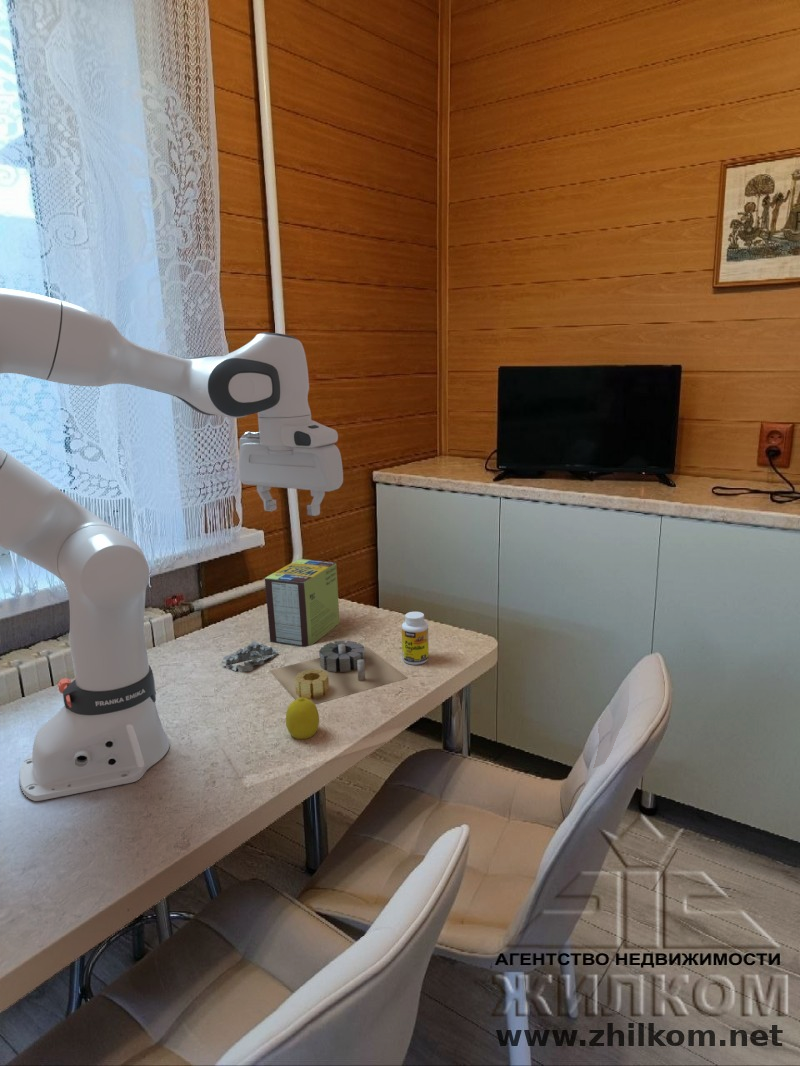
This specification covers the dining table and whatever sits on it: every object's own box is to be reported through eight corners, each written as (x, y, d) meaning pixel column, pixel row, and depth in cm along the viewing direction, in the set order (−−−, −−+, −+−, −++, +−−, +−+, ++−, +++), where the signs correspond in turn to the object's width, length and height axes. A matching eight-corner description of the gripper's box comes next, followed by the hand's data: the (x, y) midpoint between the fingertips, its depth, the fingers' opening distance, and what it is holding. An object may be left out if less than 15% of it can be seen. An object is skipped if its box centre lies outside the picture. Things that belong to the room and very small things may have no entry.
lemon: (314, 750, 116) (311, 707, 113) (282, 748, 117) (279, 704, 115) (324, 733, 121) (322, 691, 119) (294, 730, 122) (291, 688, 120)
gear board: (302, 715, 127) (301, 687, 125) (269, 677, 142) (267, 652, 141) (408, 684, 137) (407, 659, 136) (366, 652, 152) (365, 628, 151)
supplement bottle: (401, 665, 146) (400, 619, 143) (403, 654, 151) (402, 609, 148) (428, 666, 145) (427, 619, 143) (429, 654, 150) (428, 609, 148)
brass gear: (303, 701, 129) (302, 686, 128) (291, 688, 134) (290, 674, 133) (333, 693, 131) (332, 678, 131) (320, 681, 137) (319, 666, 136)
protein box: (340, 623, 169) (337, 561, 165) (308, 648, 156) (304, 582, 152) (302, 618, 173) (298, 558, 169) (268, 642, 159) (263, 577, 156)
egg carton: (245, 682, 141) (243, 664, 140) (219, 674, 145) (217, 656, 144) (281, 662, 149) (280, 644, 148) (256, 655, 153) (254, 637, 152)
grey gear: (331, 676, 138) (330, 663, 137) (313, 659, 146) (312, 646, 145) (372, 665, 142) (371, 652, 141) (352, 649, 150) (352, 637, 149)
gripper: (226, 433, 121) (234, 511, 124) (323, 437, 111) (328, 522, 114) (251, 428, 126) (257, 504, 129) (345, 432, 116) (350, 513, 120)
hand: (291, 512), depth 122 cm, fingers open, 8 cm apart
